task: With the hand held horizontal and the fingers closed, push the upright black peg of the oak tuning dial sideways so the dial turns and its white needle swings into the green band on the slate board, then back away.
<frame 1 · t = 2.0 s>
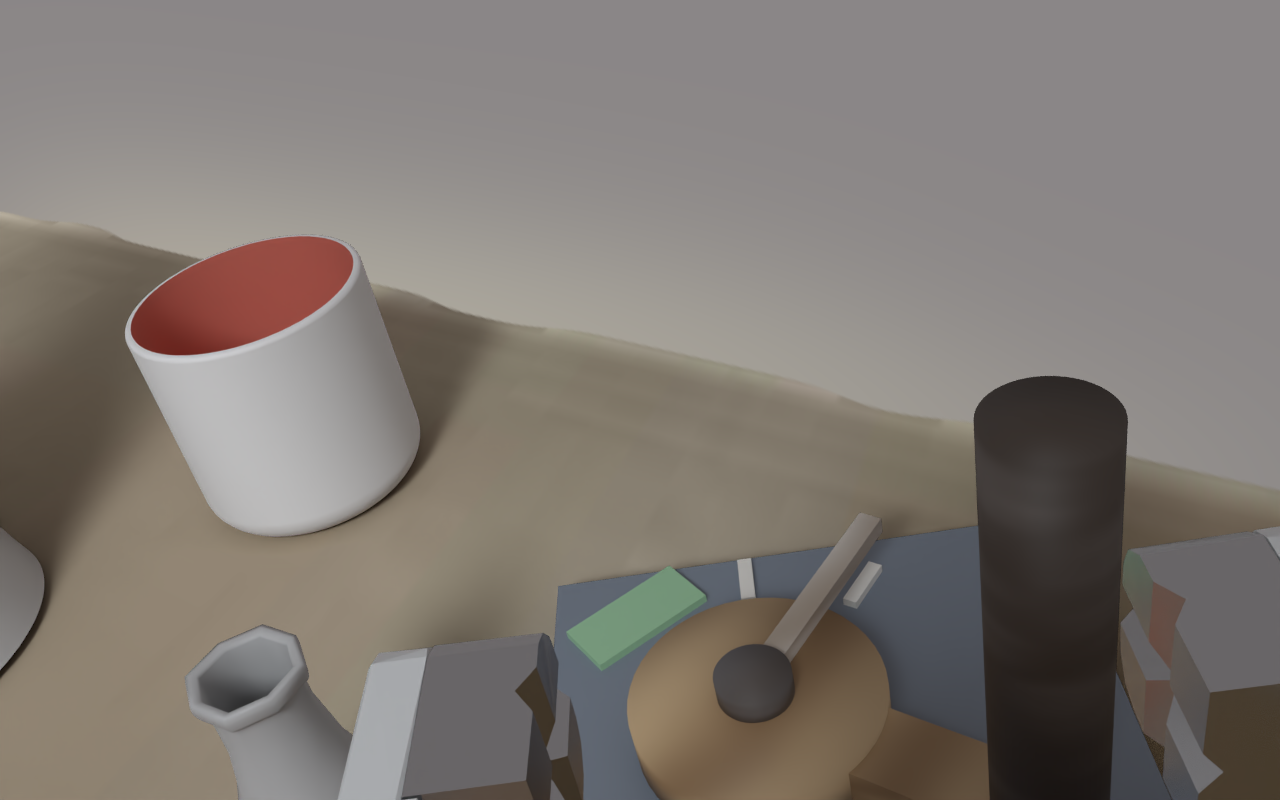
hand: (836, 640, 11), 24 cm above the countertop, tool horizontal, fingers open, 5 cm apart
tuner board: (835, 774, 38), on the countertop
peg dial: (866, 542, 34), point 9 cm above the countertop, hinge at -35.0°
cup: (324, 480, 57), on the countertop
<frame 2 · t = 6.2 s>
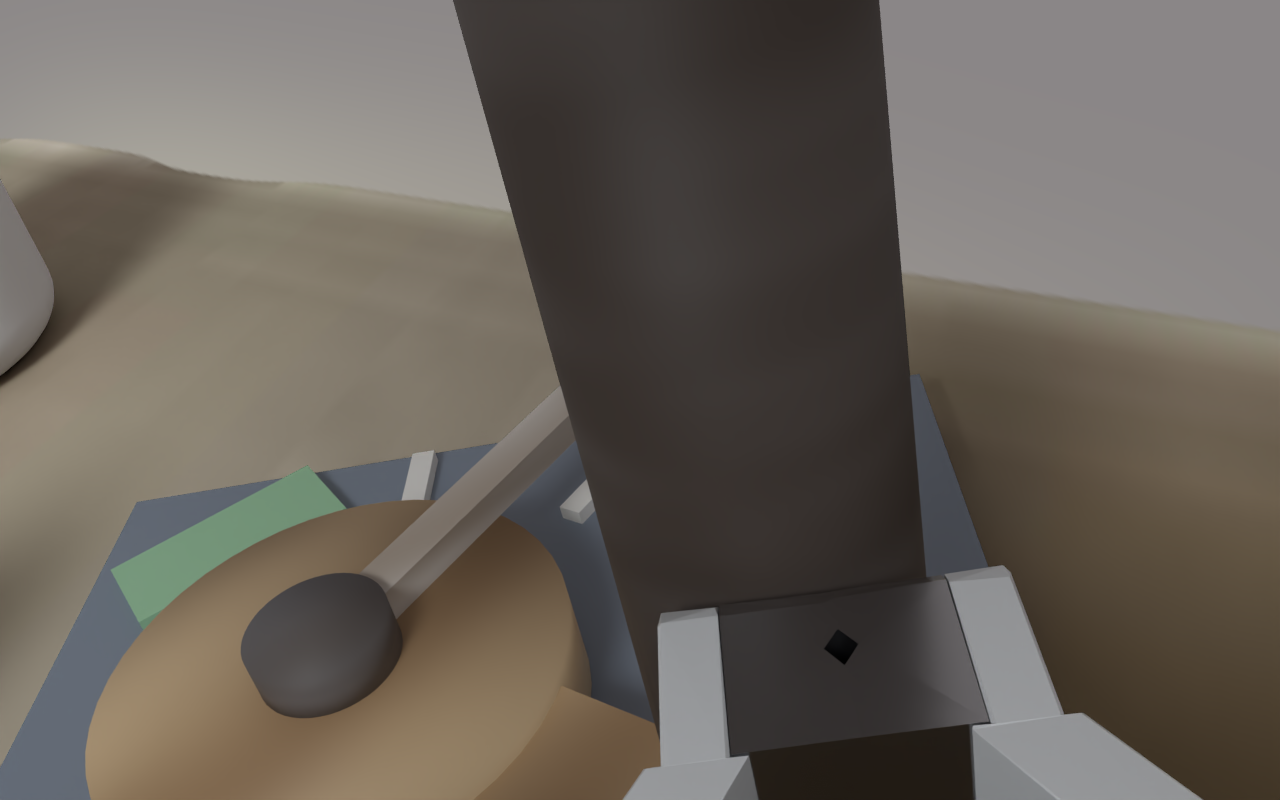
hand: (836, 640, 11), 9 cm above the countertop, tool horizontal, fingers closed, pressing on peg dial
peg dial: (462, 341, 16), point 9 cm above the countertop, hinge at -34.6°, touching gripper
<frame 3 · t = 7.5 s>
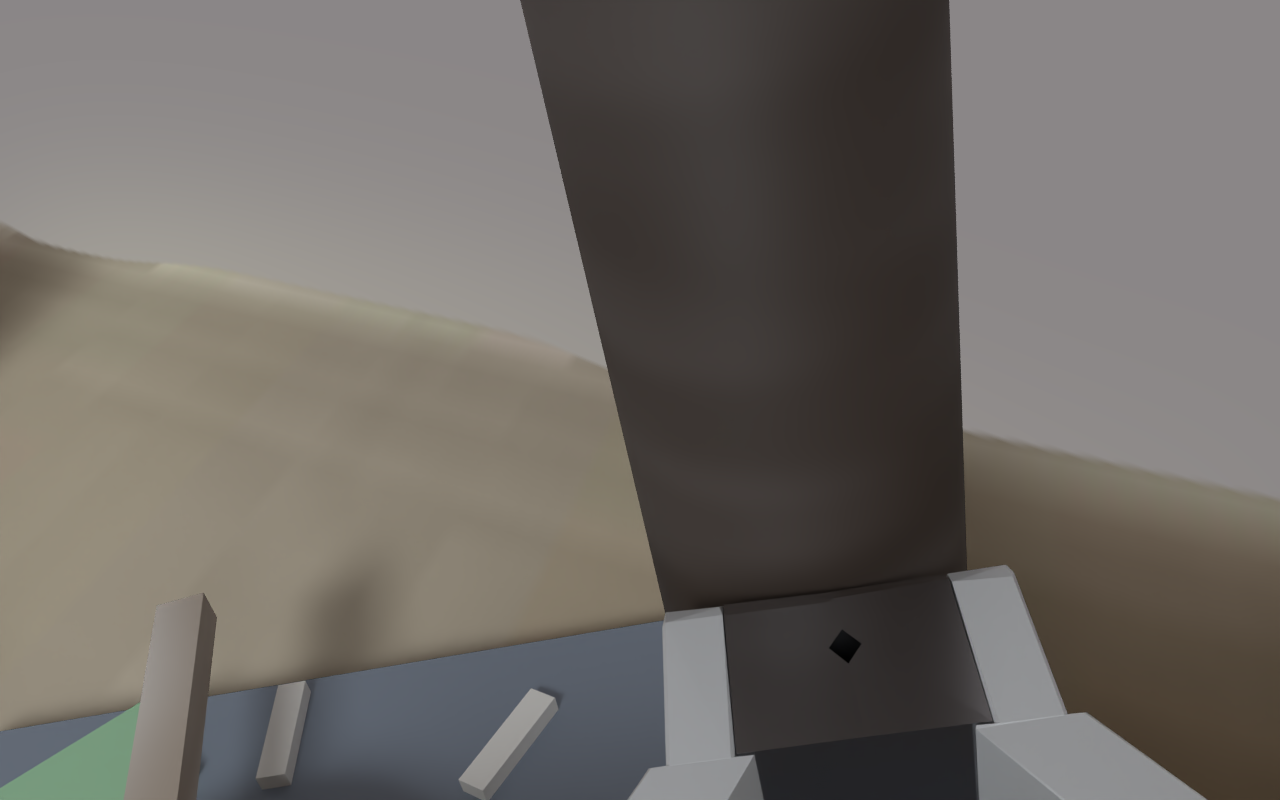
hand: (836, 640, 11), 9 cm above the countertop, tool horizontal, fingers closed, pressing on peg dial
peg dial: (239, 568, 13), point 9 cm above the countertop, hinge at 8.8°, touching gripper
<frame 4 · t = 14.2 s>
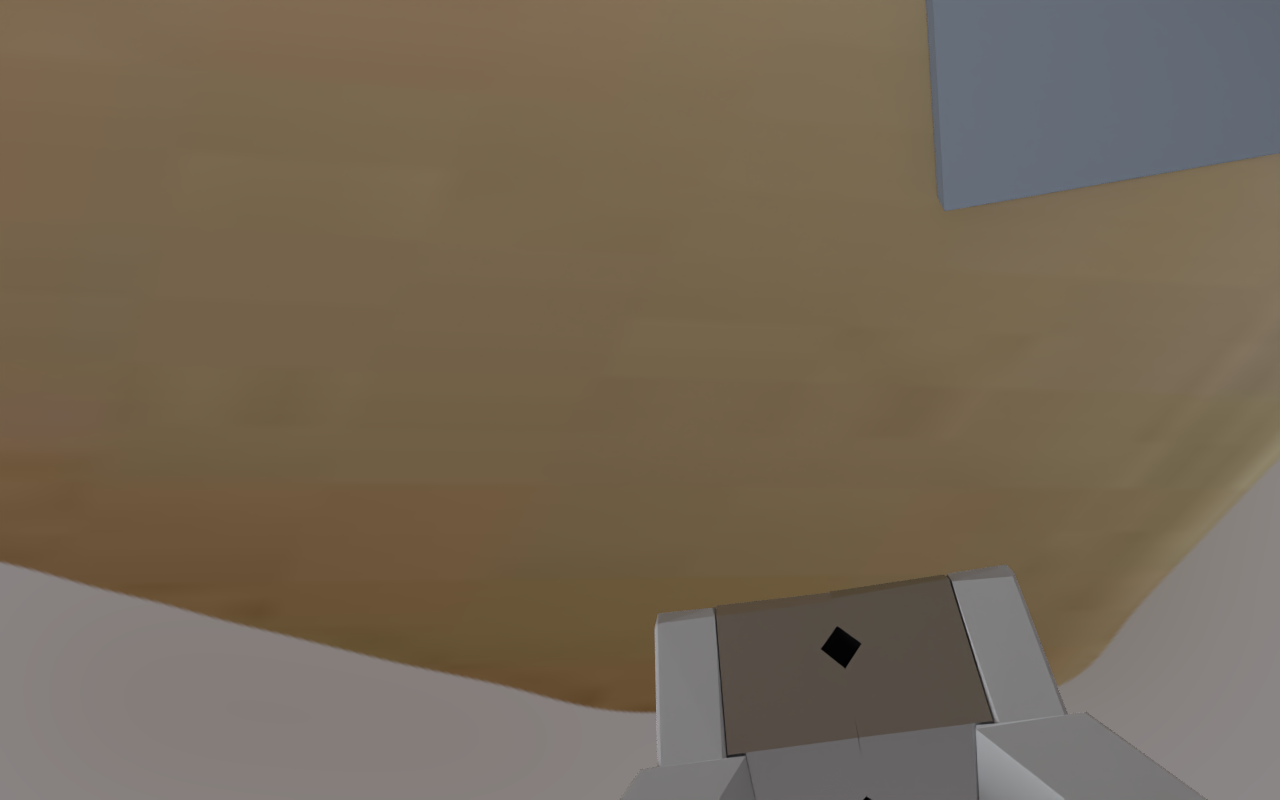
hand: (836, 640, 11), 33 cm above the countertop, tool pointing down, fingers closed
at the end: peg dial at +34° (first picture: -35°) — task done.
